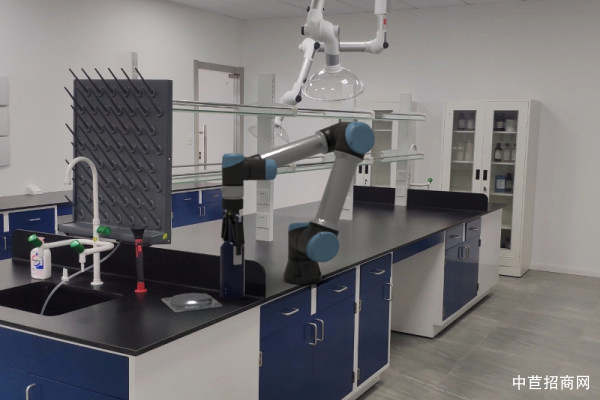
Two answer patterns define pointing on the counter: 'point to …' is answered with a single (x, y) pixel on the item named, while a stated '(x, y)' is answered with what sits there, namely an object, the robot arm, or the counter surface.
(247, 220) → the counter surface
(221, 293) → the bottle
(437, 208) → the counter surface
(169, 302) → the flange plate
